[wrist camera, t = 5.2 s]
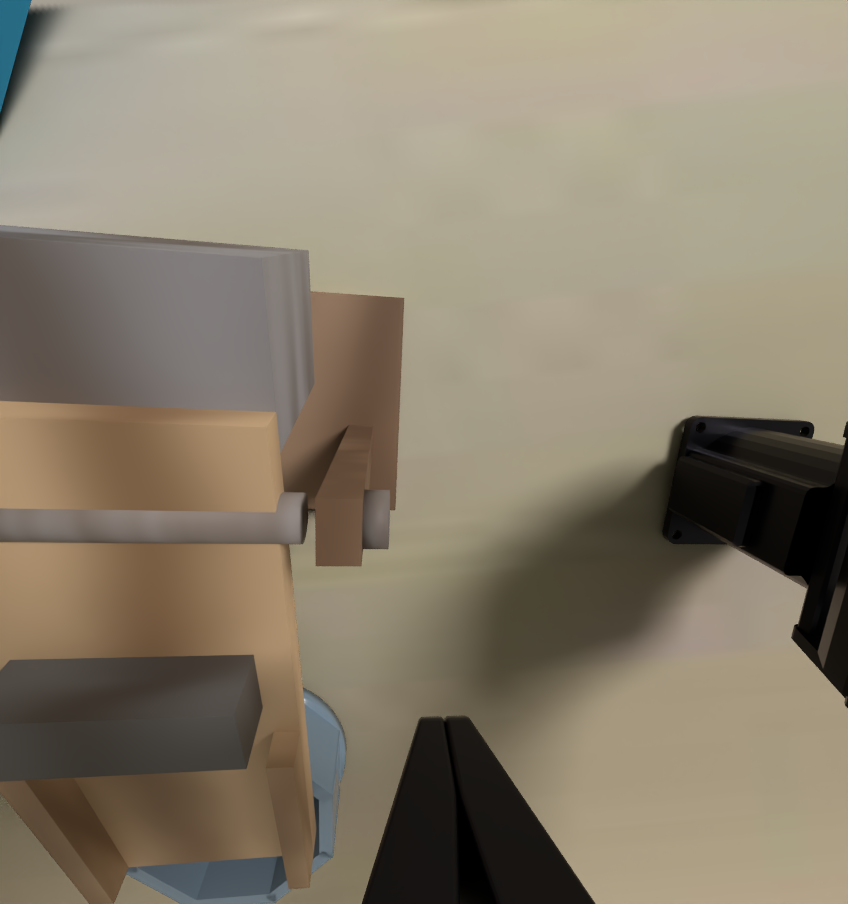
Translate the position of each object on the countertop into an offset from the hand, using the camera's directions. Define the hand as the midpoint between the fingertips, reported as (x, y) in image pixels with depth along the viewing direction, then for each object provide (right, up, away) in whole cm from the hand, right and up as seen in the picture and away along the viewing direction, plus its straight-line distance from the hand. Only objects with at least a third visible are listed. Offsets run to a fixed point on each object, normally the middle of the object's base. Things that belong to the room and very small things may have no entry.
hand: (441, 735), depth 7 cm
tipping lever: (-9, +1, +10) cm, 13 cm away
